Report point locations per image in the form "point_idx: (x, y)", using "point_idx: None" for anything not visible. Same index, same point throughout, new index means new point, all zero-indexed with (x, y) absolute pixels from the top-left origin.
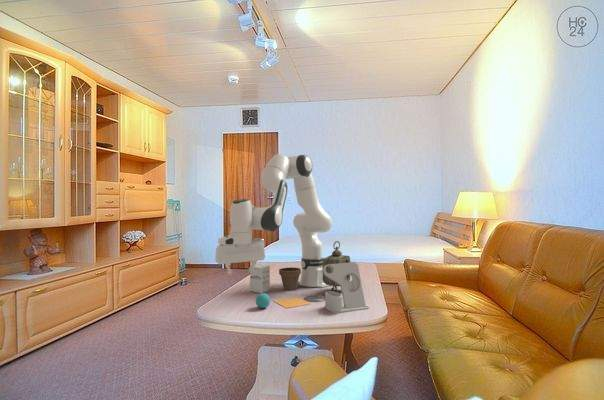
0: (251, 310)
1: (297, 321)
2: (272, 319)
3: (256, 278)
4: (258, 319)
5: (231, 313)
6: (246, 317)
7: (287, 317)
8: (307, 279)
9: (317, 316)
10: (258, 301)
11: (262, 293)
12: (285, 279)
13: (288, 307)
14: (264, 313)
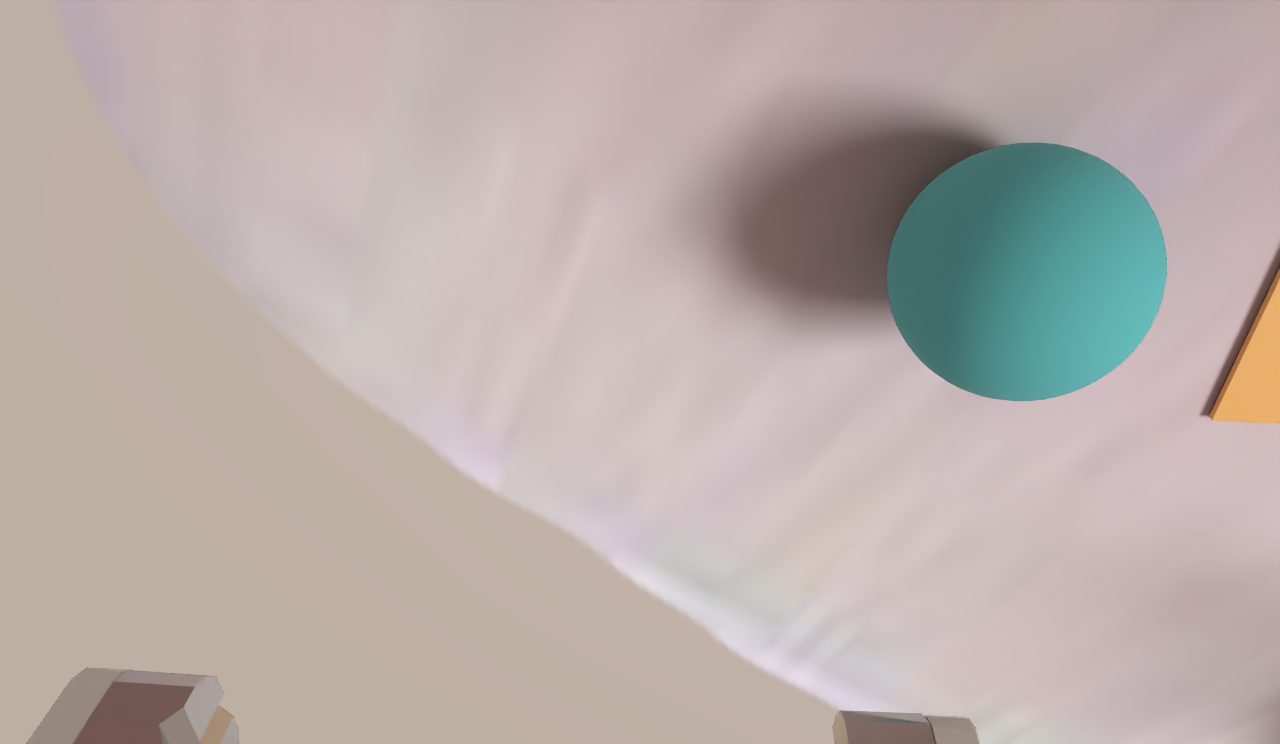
0: (778, 233)
1: None
2: (813, 596)
3: None
4: (692, 534)
5: (475, 199)
6: (602, 427)
7: (971, 624)
8: None
9: (1210, 725)
10: (900, 328)
11: (1057, 336)
12: None
13: (1250, 417)
14: (854, 422)
